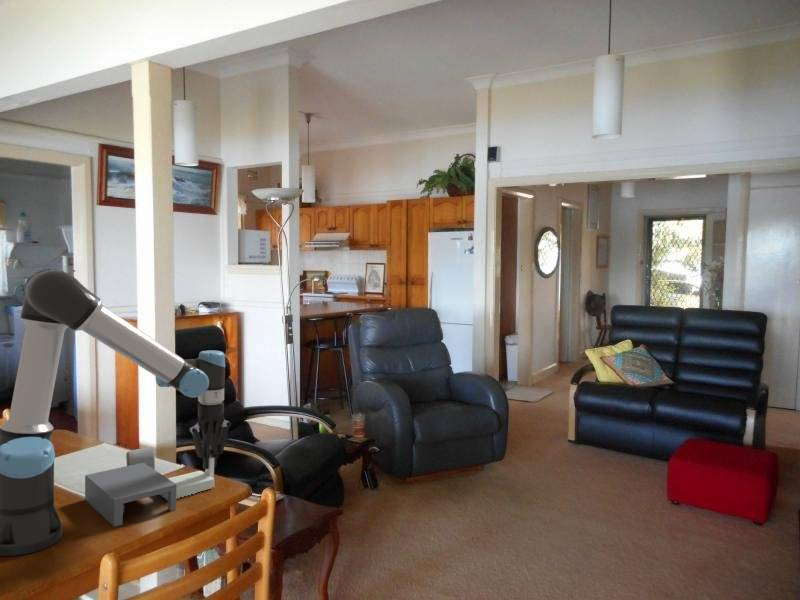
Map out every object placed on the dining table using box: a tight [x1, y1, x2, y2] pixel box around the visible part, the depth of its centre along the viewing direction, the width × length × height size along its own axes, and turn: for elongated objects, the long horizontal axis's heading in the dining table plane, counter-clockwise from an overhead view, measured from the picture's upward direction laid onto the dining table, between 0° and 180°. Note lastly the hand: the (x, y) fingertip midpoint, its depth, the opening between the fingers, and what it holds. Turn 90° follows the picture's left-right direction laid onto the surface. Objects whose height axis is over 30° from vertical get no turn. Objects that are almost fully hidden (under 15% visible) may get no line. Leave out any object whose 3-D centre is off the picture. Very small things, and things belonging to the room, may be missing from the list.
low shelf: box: [84, 463, 177, 528], centre depth 159 cm, size 16×22×7 cm
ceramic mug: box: [125, 446, 156, 471], centre depth 182 cm, size 11×8×8 cm
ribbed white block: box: [158, 470, 216, 502], centre depth 171 cm, size 14×9×3 cm, turn 136°
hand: (209, 478), depth 176 cm, fingers closed
